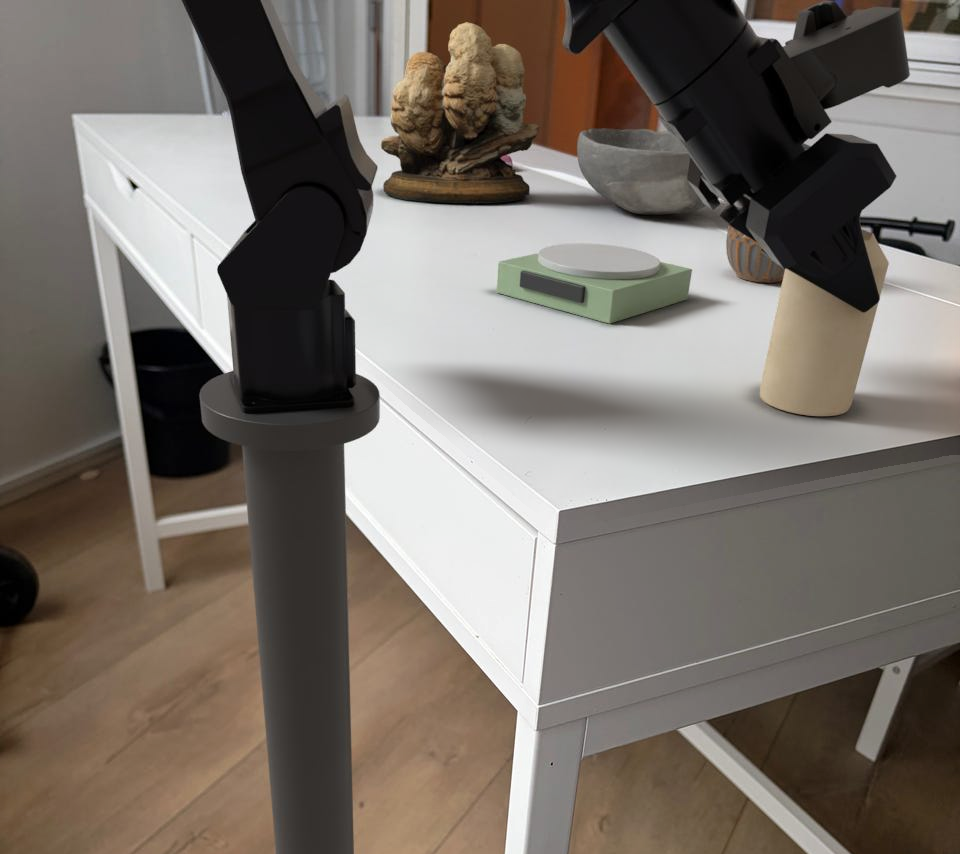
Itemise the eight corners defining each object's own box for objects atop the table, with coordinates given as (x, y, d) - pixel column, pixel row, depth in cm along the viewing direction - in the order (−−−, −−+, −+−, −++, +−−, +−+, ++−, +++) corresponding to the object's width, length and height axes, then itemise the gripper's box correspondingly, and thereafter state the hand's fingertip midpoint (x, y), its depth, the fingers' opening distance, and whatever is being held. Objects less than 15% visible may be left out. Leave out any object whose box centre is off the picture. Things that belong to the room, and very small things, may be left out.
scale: (607, 324, 74) (612, 282, 72) (493, 293, 79) (496, 253, 78) (687, 299, 81) (693, 261, 79) (578, 272, 87) (582, 236, 85)
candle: (770, 415, 59) (810, 236, 54) (749, 384, 64) (783, 216, 58) (862, 419, 59) (911, 242, 54) (834, 388, 64) (876, 222, 58)
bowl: (545, 212, 109) (552, 131, 105) (605, 192, 122) (613, 119, 118) (704, 236, 103) (718, 150, 98) (749, 212, 116) (763, 135, 112)
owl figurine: (519, 186, 122) (531, 23, 113) (549, 205, 113) (564, 28, 104) (374, 185, 118) (373, 15, 109) (392, 204, 109) (393, 19, 99)
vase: (815, 283, 88) (840, 174, 83) (761, 290, 85) (784, 178, 80) (756, 265, 93) (777, 161, 88) (703, 272, 89) (721, 164, 84)
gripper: (911, -75, 41) (1070, 226, 47) (779, -59, 56) (913, 166, 63) (688, 130, 45) (864, 382, 51) (622, 92, 60) (764, 289, 67)
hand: (853, 293), depth 58 cm, fingers closed on candle, 5 cm apart
